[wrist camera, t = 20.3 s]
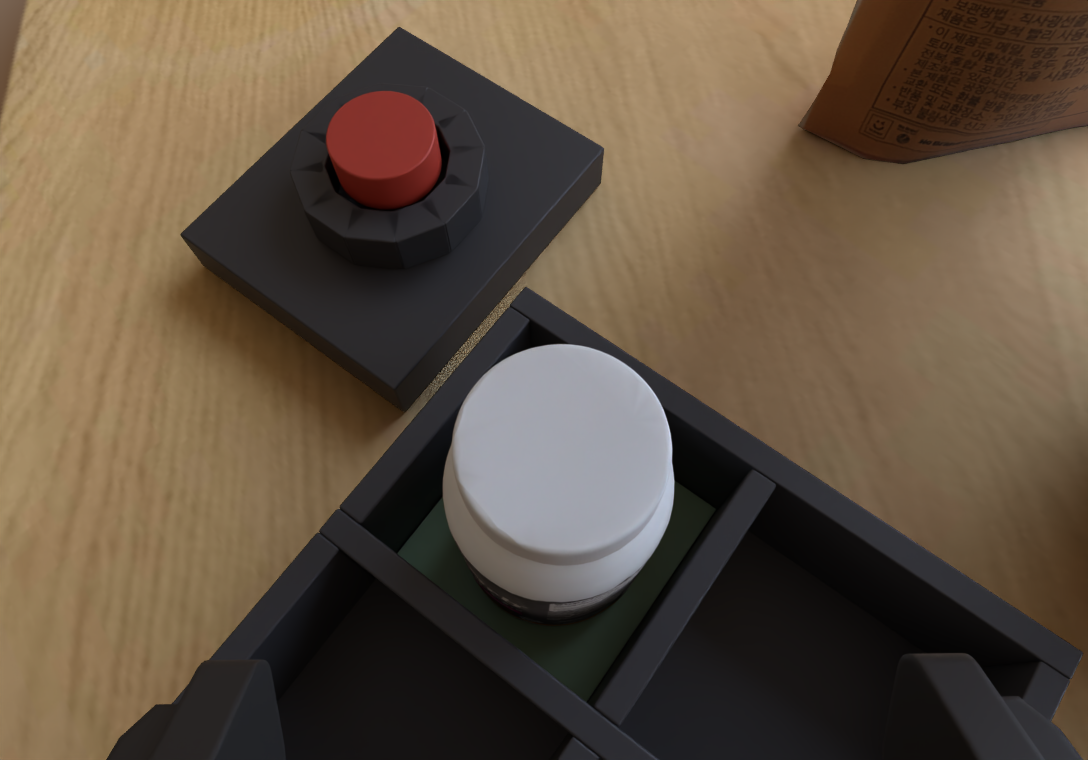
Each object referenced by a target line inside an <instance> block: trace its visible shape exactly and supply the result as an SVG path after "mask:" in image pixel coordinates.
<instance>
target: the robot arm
mask: <svg viewBox="0 0 1088 760" xmlns="http://www.w3.org/2000/svg"><path fill="white" fill-rule="evenodd" d="M106 760H286V754H285V745H284V739H283V733H282V728H281V722H280V717H279V711H278V705H277V700H276V694H275V689H274V683H273V677H272V672H271V668H270V665H269V664H268V662H267V661H266V660H207V661H204V662H203V663H201V664H200V666H199V667H198V668H197V670H196V672H195V673H194V675H193V677H192V679H191V681H190V683H189V684H188V686H187V688H186V690H185V692H184V694H183V696H182V697H181V699H180V701H179V703H178V704H156V705H155V706H154V707H153V708H152V709H151V710H149V711H148V712H147V713H146V714H145V715H144V716H143V717H142V718H141V719H140V720H138V721H137V722H136V723H135V724H134V725H133V726H132V727H131V728H130V729H129V730H127V731H126V732H125V733H124V734H123V735H122V736H121V737H120V738H119V739H118V741H117V743H116V744H115V746H114V748H113V749H112V751H111V753H110V754H109V756H108V758H107V759H106ZM882 760H1083V759H1082V758H1081V756H1080V755H1079V754H1078V752H1077V751H1076V750H1075V748H1074V747H1073V746H1072V744H1071V743H1070V742H1069V740H1068V739H1067V738H1066V736H1065V735H1064V734H1063V732H1062V731H1061V730H1060V729H1059V728H1058V727H1057V726H1056V725H1054V724H1053V723H1052V722H1051V721H1049V720H1048V719H1047V718H1045V717H1044V716H1043V715H1042V714H1040V713H1039V712H1038V711H1037V710H1035V709H1034V708H1033V707H1031V706H1030V705H1029V704H1028V703H1026V702H1025V701H1024V700H1023V699H1021V698H1020V697H1019V696H1003V697H1001V696H1000V694H999V693H998V691H997V690H996V689H995V687H994V686H993V684H992V683H991V681H990V680H989V679H988V677H987V676H986V674H985V673H984V671H983V670H982V668H981V667H980V666H979V664H978V663H977V662H976V660H975V659H974V658H973V657H971V656H970V655H968V654H965V653H931V654H905V655H903V656H902V657H901V658H900V660H899V663H898V666H897V670H896V676H895V681H894V686H893V691H892V696H891V701H890V706H889V711H888V717H887V722H886V727H885V732H884V737H883V743H882Z"/></svg>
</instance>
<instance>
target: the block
mask: <svg viewBox="0 0 1088 760" xmlns="http://www.w3.org/2000/svg"><path fill="white" fill-rule="evenodd" d="M376 91H393V92H399V93H403V94H406V95H408V96H411V97H413V98H414V99H416V100H418V101H419V102H420V103H422V104H423V105H424V106H425V107H426V108H427V110H428V111H429V112H430V114H431V116H432V117H433V120H434V123H435V127H436V133H437V138H438V143H439V148H440V154H441V159H442V167H441V172H440V176H439V178H438V180H437V182H436V184H435V185H434V187H433V188H432V189H431V191H430V192H429V193H428V194H427V195H426V196H424V197H423V198H422V199H420V200H419V201H417V202H415V203H413V204H411V205H409V206H406V207H403V208H398V209H391V210H380V209H374V208H370V207H367V206H364V205H362V204H360V203H358V202H356V201H355V200H354V199H352V198H351V197H350V196H349V195H348V194H347V193H346V192H345V191H344V189H343V188H342V186H341V184H340V182H339V179H338V176H337V174H336V171H335V169H334V166H333V164H332V161H331V159H330V156H329V153H328V150H327V146H326V133H327V129H328V126H329V123H330V121H331V119H332V117H333V116H334V115H335V113H336V112H337V111H338V110H339V109H340V108H341V107H342V106H343V105H344V104H346V103H347V102H349V101H350V100H352V99H354V98H356V97H358V96H360V95H363V94H366V93H370V92H376ZM603 156H604V148H603V147H602V146H600V145H598V144H596V143H595V142H593V141H591V140H590V139H588V138H586V137H585V136H583V135H581V134H580V133H578V132H576V131H574V130H573V129H571V128H569V127H568V126H566V125H564V124H563V123H561V122H559V121H558V120H556V119H554V118H553V117H551V116H549V115H547V114H546V113H544V112H542V111H541V110H539V109H537V108H536V107H534V106H532V105H531V104H529V103H527V102H526V101H524V100H522V99H520V98H519V97H517V96H515V95H514V94H512V93H510V92H509V91H507V90H505V89H504V88H502V87H500V86H499V85H497V84H495V83H493V82H492V81H490V80H488V79H487V78H485V77H483V76H482V75H480V74H478V73H477V72H475V71H473V70H472V69H470V68H468V67H466V66H465V65H463V64H461V63H460V62H458V61H456V60H455V59H453V58H451V57H450V56H448V55H446V54H445V53H443V52H441V51H439V50H438V49H436V48H434V47H433V46H431V45H429V44H428V43H426V42H424V41H423V40H421V39H419V38H418V37H416V36H414V35H412V34H411V33H409V32H407V31H406V30H404V29H402V28H401V27H398V28H397V29H396V30H395V31H394V32H393V33H392V34H391V35H390V36H389V37H387V38H386V39H385V40H384V41H383V42H382V43H381V44H380V45H379V46H378V47H377V48H376V49H375V50H374V51H373V52H372V53H371V54H370V55H369V56H367V57H366V58H365V59H364V60H363V61H362V62H361V63H360V64H359V65H358V66H357V67H356V68H355V69H354V70H353V71H352V72H351V73H350V74H348V75H347V76H346V77H345V78H344V79H343V80H342V81H341V82H340V83H339V84H338V85H337V86H336V87H335V88H334V89H333V90H332V91H331V92H330V93H328V94H327V95H326V96H325V97H324V98H323V99H322V100H321V101H320V102H319V103H318V104H317V105H316V106H315V107H314V108H313V109H312V110H311V111H309V112H308V113H307V114H306V115H305V116H304V117H303V118H302V119H301V120H300V121H299V122H298V123H297V124H296V125H295V126H294V127H293V128H292V129H291V130H289V131H288V132H287V133H286V134H285V135H284V136H283V137H282V138H281V139H280V140H279V141H278V142H277V143H276V144H275V145H274V146H273V147H272V148H270V149H269V150H268V151H267V152H266V153H265V154H264V155H263V156H262V157H261V158H260V159H259V160H258V161H257V162H256V163H255V164H254V165H253V166H251V167H250V168H249V169H248V170H247V171H246V172H245V173H244V174H243V175H242V176H241V177H240V178H239V179H238V180H237V181H236V182H235V183H234V184H233V185H231V186H230V187H229V188H228V189H227V190H226V191H225V192H224V193H223V194H222V195H221V196H220V197H219V198H218V199H217V200H216V201H215V202H214V203H212V204H211V205H210V206H209V207H208V208H207V209H206V210H205V211H204V212H203V213H202V214H201V215H200V216H199V217H198V218H197V219H196V220H195V221H194V222H192V223H191V224H190V225H189V226H188V227H187V228H186V229H185V230H184V231H183V232H182V233H181V237H182V238H183V239H184V241H185V242H186V243H187V245H188V246H189V247H190V249H191V250H192V251H193V253H194V254H195V255H196V256H197V258H198V259H199V260H200V262H201V263H202V264H203V266H205V267H206V268H207V269H209V270H210V271H212V272H213V273H214V274H216V275H217V276H218V277H220V278H221V279H222V280H224V281H225V282H227V283H228V284H229V285H231V286H232V287H233V288H235V289H236V290H238V291H239V292H240V293H242V294H243V295H244V296H246V297H247V298H248V299H250V300H251V301H253V302H254V303H255V304H257V305H258V306H259V307H261V308H262V309H263V310H265V311H266V312H268V313H269V314H270V315H272V316H273V317H274V318H276V319H277V320H279V321H280V322H281V323H283V324H284V325H285V326H287V327H288V328H289V329H291V330H292V331H294V332H295V333H296V334H298V335H299V336H300V337H302V338H303V339H304V340H306V341H307V342H309V343H310V344H311V345H313V346H314V347H315V348H317V349H318V350H320V351H321V352H322V353H324V354H325V355H326V356H328V357H329V358H330V359H332V360H333V361H335V362H336V363H337V364H339V365H340V366H341V367H343V368H344V369H346V370H347V371H348V372H350V373H351V374H352V375H354V376H355V377H356V378H358V379H359V380H361V381H362V382H363V383H365V384H366V385H367V386H369V387H370V388H371V389H373V390H374V391H376V392H377V393H378V394H380V395H381V396H382V397H384V398H385V399H387V400H388V401H389V402H391V403H392V404H393V405H395V406H396V407H397V408H399V409H400V410H402V411H404V412H405V411H406V410H407V409H408V408H409V407H410V406H411V405H412V403H413V402H414V401H415V400H416V399H417V398H418V396H419V395H420V394H421V393H422V392H423V390H424V389H425V388H426V387H427V386H428V385H429V383H430V382H431V381H432V380H433V379H434V378H435V376H436V375H437V374H438V373H439V372H440V371H441V369H442V368H443V367H444V366H445V365H446V364H447V362H448V361H449V360H450V359H451V358H452V357H453V355H454V354H455V353H456V352H457V351H458V350H459V348H460V347H461V346H462V345H463V344H464V343H465V341H466V340H467V339H468V338H469V337H470V336H471V334H472V333H473V332H474V331H475V330H476V328H477V327H478V326H479V325H480V324H481V323H482V321H483V320H484V319H485V318H486V317H487V316H488V314H489V313H490V312H491V311H492V310H493V309H494V307H495V306H496V305H497V304H498V303H499V302H500V300H501V299H502V298H503V297H504V296H505V295H506V293H507V292H508V291H509V290H510V289H511V288H512V286H513V285H514V284H515V283H516V282H517V281H518V279H519V278H520V277H521V276H522V275H523V273H524V272H525V271H526V270H527V269H528V268H529V266H530V265H531V264H532V263H533V262H534V261H535V259H536V258H537V257H538V256H539V255H540V254H541V252H542V251H543V250H544V249H545V248H546V247H547V245H548V244H549V243H550V242H551V241H552V240H553V238H554V237H555V236H556V235H557V234H558V233H559V231H560V230H561V229H562V228H563V227H564V226H565V224H566V223H567V222H568V221H569V220H570V218H571V217H572V216H573V215H574V214H575V213H576V211H577V210H578V209H579V208H580V207H581V206H582V204H583V203H584V202H585V201H586V200H587V199H588V197H589V196H590V195H591V194H592V193H593V192H594V190H595V189H596V188H597V187H598V186H599V185H600V183H601V176H602V166H603Z"/></svg>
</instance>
